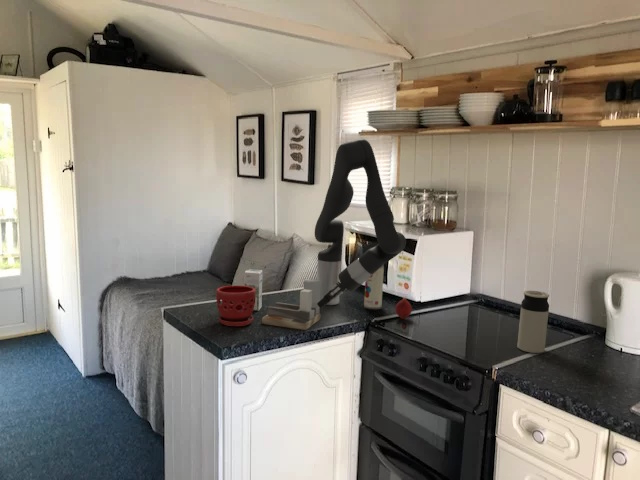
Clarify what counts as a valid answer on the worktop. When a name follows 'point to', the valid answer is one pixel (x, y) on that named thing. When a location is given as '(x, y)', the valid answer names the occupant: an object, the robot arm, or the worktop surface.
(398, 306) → the onion
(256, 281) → the syrup box
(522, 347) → the travel mug
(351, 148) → the robot arm
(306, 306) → the switch knob
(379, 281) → the aerosol can
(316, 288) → the skincare box
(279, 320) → the switch plate
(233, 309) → the plant pot
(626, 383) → the worktop surface
